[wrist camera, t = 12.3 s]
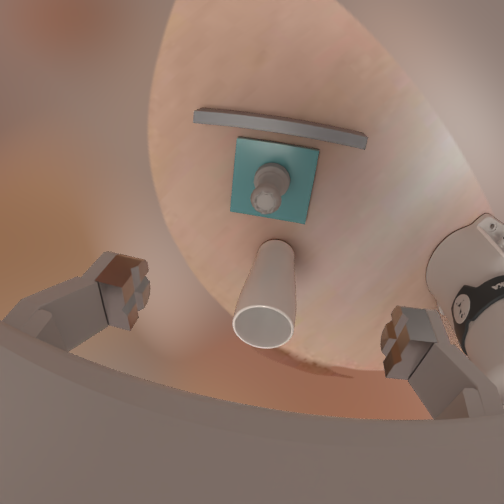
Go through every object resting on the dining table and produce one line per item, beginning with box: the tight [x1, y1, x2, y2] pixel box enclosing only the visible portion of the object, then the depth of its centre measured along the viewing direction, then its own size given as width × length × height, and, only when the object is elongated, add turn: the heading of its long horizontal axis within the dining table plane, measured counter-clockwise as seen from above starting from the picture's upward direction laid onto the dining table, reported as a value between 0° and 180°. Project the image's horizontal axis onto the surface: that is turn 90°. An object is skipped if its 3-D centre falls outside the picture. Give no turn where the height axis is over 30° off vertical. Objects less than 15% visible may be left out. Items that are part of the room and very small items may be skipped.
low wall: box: [193, 108, 368, 150], centre depth 35 cm, size 20×2×3 cm, turn 84°
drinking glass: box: [233, 240, 296, 348], centre depth 39 cm, size 7×7×15 cm
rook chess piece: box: [250, 163, 290, 215], centre depth 35 cm, size 4×4×8 cm
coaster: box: [230, 137, 319, 224], centre depth 39 cm, size 10×10×1 cm
